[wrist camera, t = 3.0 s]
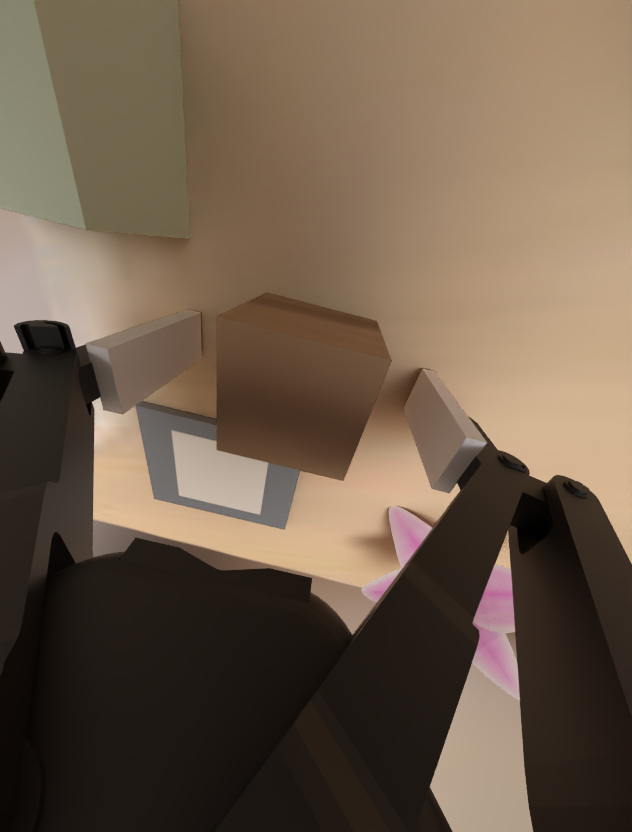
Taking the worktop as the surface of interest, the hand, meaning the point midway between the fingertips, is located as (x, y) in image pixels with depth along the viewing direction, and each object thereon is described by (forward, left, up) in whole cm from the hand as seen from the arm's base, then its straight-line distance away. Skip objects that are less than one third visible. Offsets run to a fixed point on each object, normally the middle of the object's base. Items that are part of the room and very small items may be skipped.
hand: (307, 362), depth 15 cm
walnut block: (0, 0, 0) cm, 0 cm away
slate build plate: (+11, -5, 0) cm, 12 cm away
